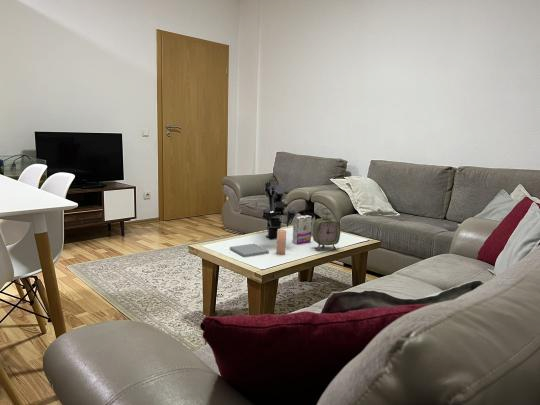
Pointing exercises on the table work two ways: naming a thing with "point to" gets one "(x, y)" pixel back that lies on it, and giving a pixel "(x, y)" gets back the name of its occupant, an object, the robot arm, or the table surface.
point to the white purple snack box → (312, 219)
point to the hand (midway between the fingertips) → (279, 226)
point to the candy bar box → (302, 229)
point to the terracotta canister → (281, 242)
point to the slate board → (249, 250)
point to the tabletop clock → (326, 230)
